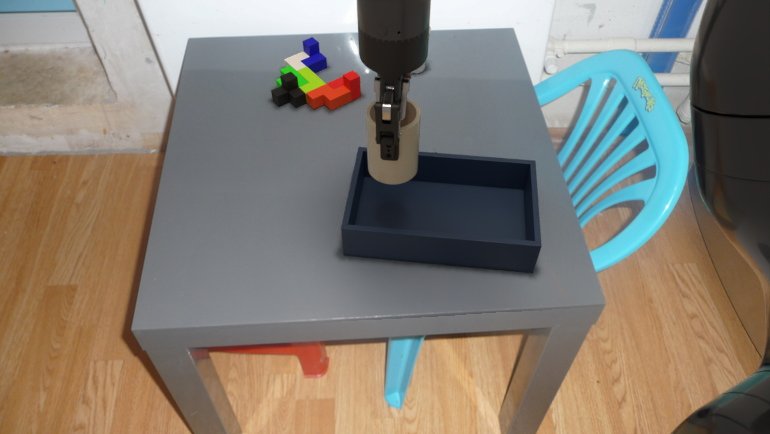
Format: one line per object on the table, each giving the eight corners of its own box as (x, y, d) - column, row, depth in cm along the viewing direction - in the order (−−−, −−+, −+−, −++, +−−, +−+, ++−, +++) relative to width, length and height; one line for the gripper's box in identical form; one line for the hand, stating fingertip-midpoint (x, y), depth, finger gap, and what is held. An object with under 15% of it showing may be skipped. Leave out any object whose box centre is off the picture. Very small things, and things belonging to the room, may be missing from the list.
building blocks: (254, 82, 105) (249, 62, 102) (314, 56, 110) (312, 36, 107) (298, 126, 98) (295, 105, 94) (361, 96, 103) (360, 75, 99)
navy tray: (528, 188, 88) (535, 160, 84) (533, 272, 78) (541, 246, 74) (359, 174, 90) (358, 146, 86) (343, 255, 80) (340, 228, 76)
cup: (428, 167, 77) (432, 112, 70) (392, 192, 74) (392, 138, 67) (393, 142, 80) (393, 88, 73) (357, 166, 77) (354, 111, 70)
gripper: (424, 60, 56) (418, 182, 68) (434, -15, 65) (427, 104, 78) (346, 55, 56) (354, 177, 69) (367, -19, 66) (370, 100, 78)
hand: (393, 138), depth 73 cm, fingers closed on cup, 6 cm apart
